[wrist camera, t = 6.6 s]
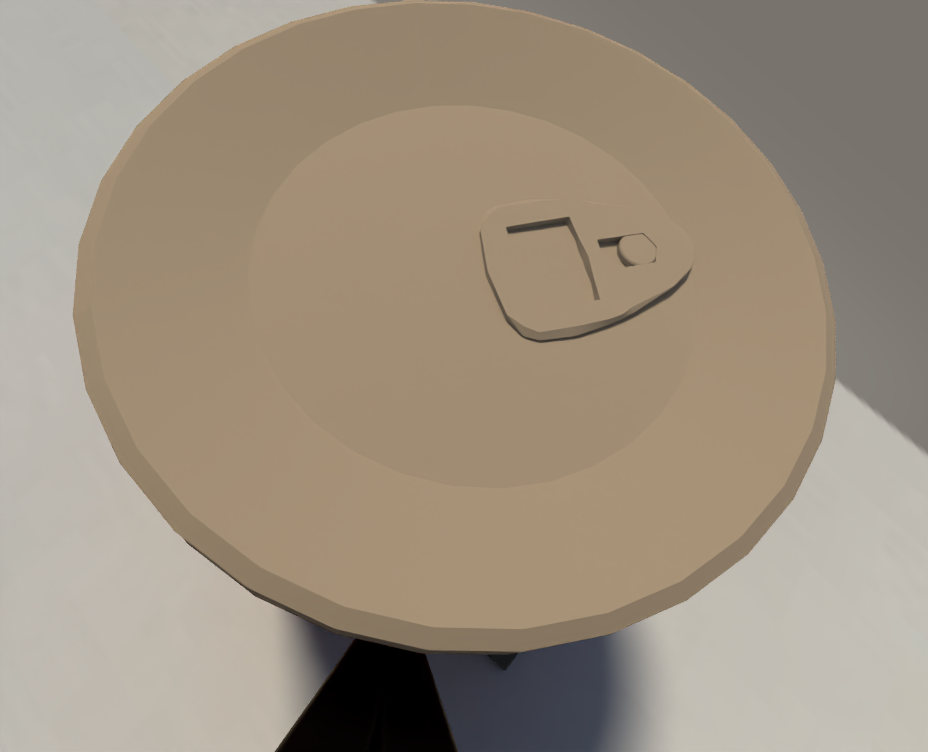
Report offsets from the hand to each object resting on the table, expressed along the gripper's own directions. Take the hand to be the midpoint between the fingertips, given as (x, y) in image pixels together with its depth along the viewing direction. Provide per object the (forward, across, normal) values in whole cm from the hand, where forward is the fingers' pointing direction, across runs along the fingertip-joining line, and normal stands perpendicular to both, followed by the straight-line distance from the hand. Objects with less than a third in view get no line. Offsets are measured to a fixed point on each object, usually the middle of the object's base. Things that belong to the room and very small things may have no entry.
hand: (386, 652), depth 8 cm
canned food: (+8, 0, +2) cm, 8 cm away
